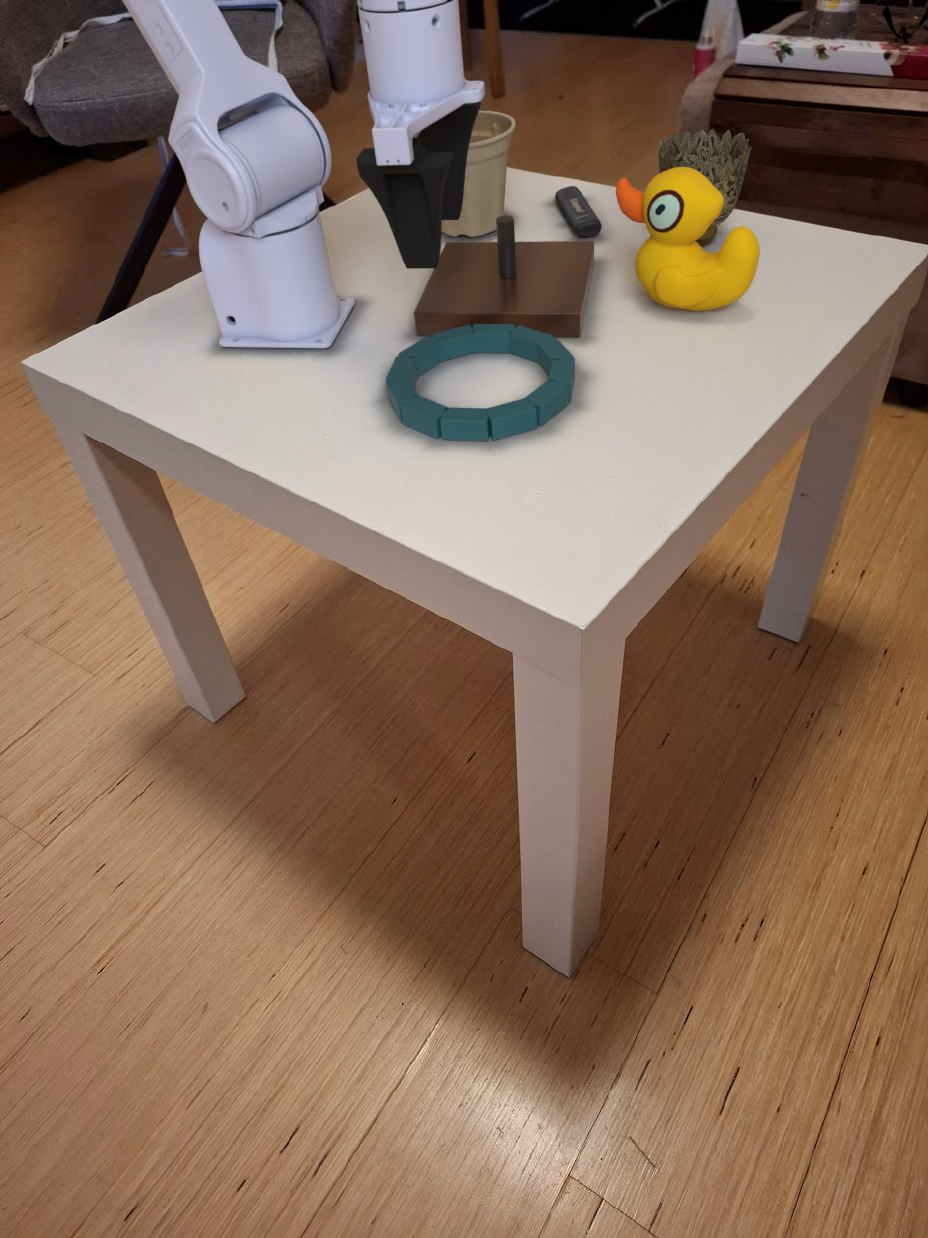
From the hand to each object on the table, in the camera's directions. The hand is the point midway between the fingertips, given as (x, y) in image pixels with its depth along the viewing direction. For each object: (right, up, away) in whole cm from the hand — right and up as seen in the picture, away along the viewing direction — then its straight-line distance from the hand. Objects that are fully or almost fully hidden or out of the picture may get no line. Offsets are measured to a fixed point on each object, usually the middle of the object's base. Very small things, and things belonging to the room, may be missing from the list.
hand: (434, 241), depth 59 cm
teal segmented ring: (+3, -9, +4) cm, 10 cm away
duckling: (+19, -1, +10) cm, 22 cm away
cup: (+22, +8, +18) cm, 30 cm away
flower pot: (+3, +12, +25) cm, 28 cm away
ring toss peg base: (+6, +1, +14) cm, 15 cm away
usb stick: (+13, +12, +24) cm, 30 cm away
